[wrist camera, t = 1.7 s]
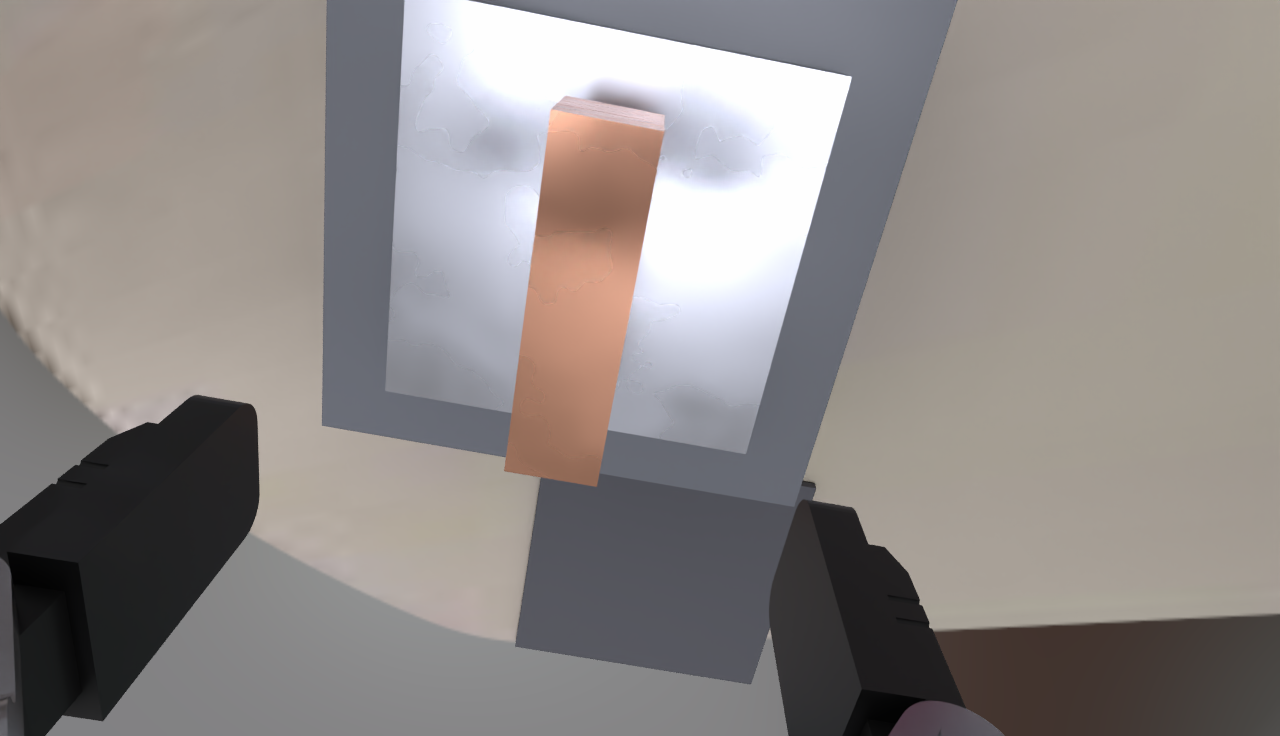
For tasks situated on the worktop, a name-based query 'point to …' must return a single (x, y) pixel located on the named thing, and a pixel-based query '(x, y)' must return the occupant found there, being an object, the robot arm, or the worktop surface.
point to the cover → (596, 227)
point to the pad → (653, 575)
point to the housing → (828, 270)
